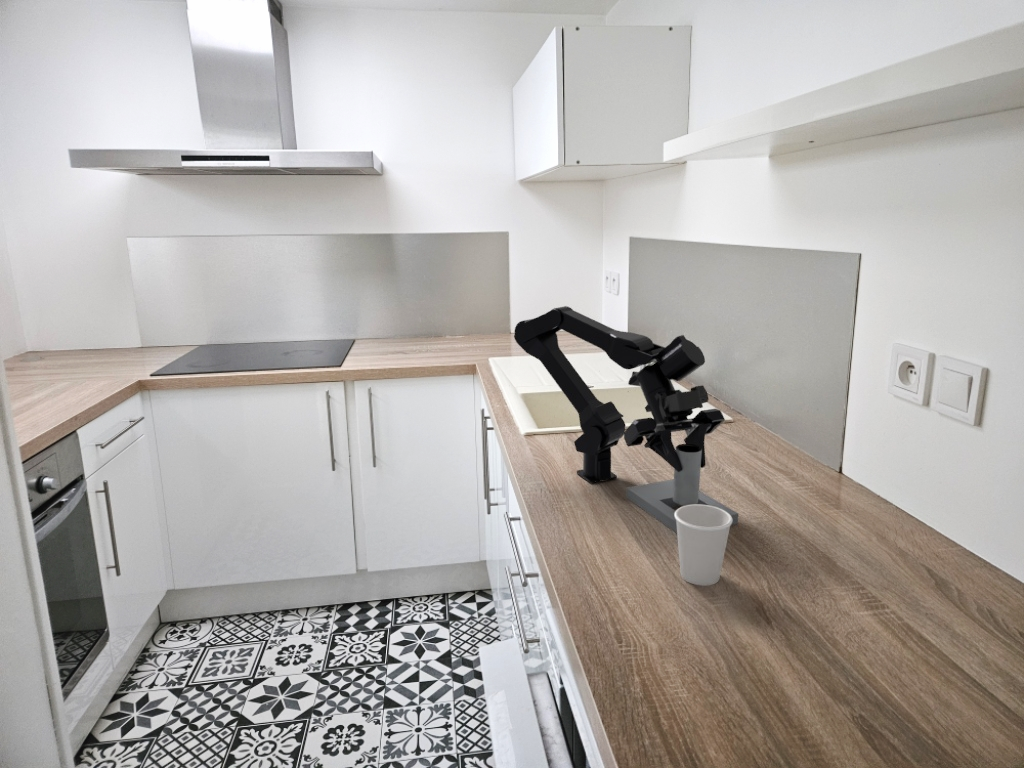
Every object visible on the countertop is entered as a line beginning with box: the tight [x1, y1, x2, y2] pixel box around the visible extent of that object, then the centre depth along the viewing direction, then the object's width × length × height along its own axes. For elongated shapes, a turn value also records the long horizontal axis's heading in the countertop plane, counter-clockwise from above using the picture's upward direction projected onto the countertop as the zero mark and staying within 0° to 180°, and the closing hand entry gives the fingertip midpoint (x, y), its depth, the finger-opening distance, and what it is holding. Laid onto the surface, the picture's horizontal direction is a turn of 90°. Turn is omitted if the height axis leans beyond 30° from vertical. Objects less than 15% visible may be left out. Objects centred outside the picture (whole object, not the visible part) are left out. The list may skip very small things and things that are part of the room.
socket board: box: [625, 478, 739, 534], centre depth 127 cm, size 18×12×2 cm, turn 22°
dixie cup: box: [674, 504, 733, 587], centre depth 103 cm, size 8×8×10 cm
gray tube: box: [673, 443, 702, 506], centre depth 123 cm, size 4×4×10 cm
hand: (692, 468), depth 122 cm, fingers closed on gray tube, 4 cm apart
